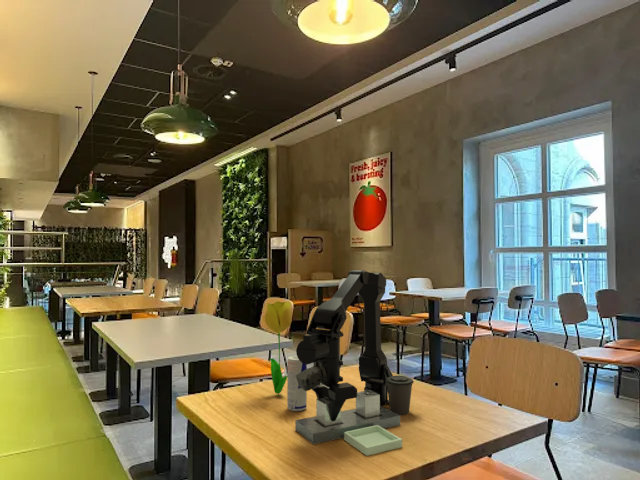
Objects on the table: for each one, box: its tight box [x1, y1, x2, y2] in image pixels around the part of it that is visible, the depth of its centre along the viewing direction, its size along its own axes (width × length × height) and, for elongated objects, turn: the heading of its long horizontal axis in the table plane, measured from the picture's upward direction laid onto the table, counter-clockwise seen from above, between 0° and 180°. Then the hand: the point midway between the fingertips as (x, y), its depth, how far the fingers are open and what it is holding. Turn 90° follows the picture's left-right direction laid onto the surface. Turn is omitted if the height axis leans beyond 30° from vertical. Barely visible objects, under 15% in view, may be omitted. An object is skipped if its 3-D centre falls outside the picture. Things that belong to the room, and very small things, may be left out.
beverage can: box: [286, 355, 308, 412], centre depth 133 cm, size 6×6×15 cm
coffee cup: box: [385, 375, 414, 416], centre depth 130 cm, size 8×8×10 cm
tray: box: [343, 425, 403, 457], centre depth 109 cm, size 10×10×2 cm
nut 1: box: [315, 398, 342, 428], centre depth 116 cm, size 5×5×8 cm
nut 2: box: [355, 390, 381, 419], centre depth 122 cm, size 5×5×8 cm
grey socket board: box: [294, 405, 401, 445], centre depth 119 cm, size 26×10×2 cm, turn 118°
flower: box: [264, 301, 292, 397], centre depth 145 cm, size 9×8×30 cm
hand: (328, 417), depth 116 cm, fingers closed on nut 1, 5 cm apart
